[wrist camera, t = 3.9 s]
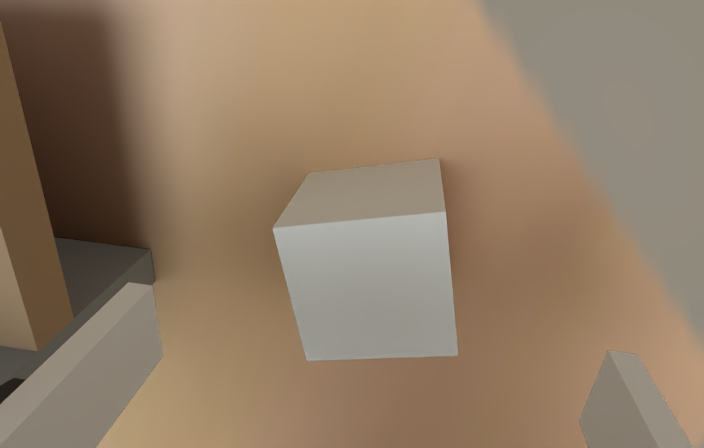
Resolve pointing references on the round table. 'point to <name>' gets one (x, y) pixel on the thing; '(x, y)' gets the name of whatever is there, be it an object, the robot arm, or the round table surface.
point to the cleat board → (45, 254)
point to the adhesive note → (370, 263)
